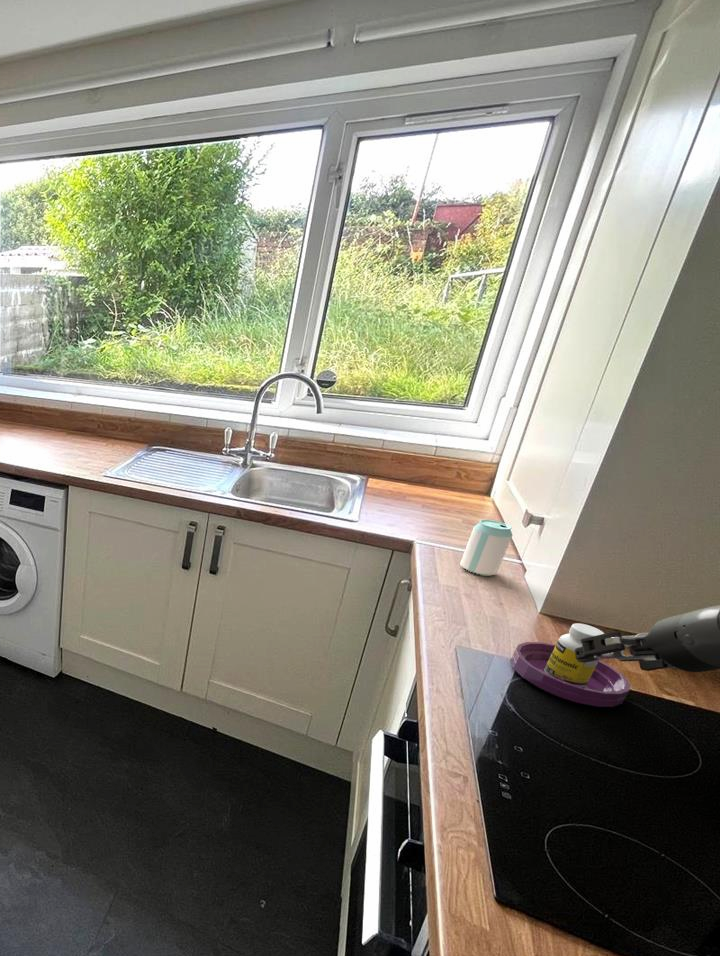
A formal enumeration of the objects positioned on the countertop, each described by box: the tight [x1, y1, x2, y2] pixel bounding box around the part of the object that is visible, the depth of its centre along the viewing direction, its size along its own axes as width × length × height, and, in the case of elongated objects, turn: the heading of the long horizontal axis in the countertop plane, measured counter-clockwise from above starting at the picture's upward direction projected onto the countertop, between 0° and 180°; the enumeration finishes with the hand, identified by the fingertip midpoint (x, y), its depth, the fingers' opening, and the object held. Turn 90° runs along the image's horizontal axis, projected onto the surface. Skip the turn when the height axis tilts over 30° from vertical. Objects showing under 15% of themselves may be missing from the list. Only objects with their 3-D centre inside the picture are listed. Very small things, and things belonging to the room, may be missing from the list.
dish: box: [509, 641, 631, 708], centre depth 98 cm, size 14×14×3 cm
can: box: [459, 519, 513, 577], centre depth 136 cm, size 7×7×12 cm
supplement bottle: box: [544, 622, 605, 687], centre depth 96 cm, size 5×5×10 cm
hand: (609, 659), depth 90 cm, fingers open, 8 cm apart
